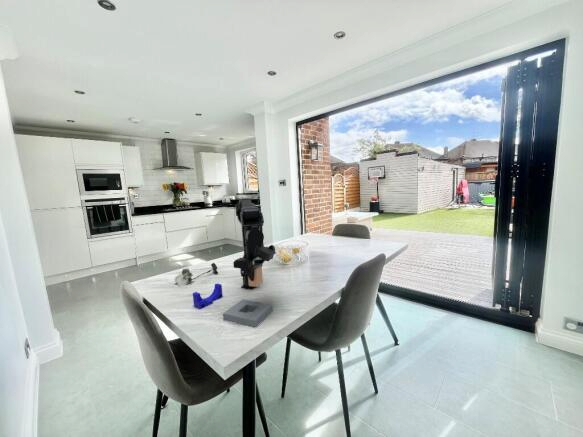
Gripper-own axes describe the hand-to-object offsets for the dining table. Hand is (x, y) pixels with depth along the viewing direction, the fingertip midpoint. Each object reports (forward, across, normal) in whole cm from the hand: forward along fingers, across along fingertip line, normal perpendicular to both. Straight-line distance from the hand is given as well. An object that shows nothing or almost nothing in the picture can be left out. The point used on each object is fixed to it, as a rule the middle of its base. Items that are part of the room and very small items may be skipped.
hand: (255, 279), depth 95 cm
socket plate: (+12, -6, 0) cm, 13 cm away
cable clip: (+12, -3, +22) cm, 25 cm away
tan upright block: (+2, 0, 0) cm, 2 cm away
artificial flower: (+12, +16, +48) cm, 52 cm away
